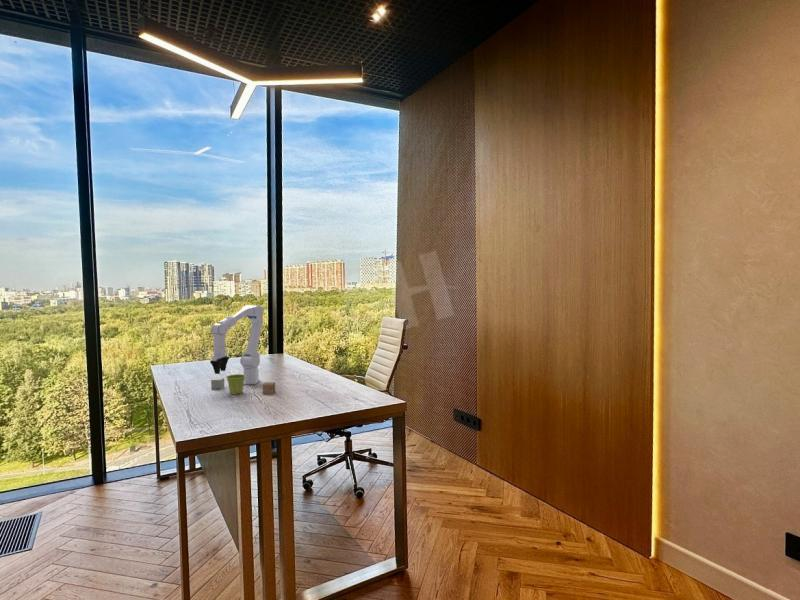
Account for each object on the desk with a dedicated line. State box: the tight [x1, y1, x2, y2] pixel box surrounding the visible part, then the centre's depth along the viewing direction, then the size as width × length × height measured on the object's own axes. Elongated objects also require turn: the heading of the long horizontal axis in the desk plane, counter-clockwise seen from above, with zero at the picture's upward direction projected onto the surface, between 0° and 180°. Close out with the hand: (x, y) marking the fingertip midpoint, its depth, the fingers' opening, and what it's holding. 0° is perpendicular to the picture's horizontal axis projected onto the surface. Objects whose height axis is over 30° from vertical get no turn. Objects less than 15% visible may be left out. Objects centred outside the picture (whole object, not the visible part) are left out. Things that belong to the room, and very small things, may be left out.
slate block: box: [210, 377, 225, 390], centre depth 246 cm, size 5×5×5 cm
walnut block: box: [262, 381, 276, 394], centre depth 235 cm, size 5×5×5 cm
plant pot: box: [225, 373, 245, 395], centre depth 235 cm, size 9×9×9 cm
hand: (220, 372), depth 238 cm, fingers open, 7 cm apart
